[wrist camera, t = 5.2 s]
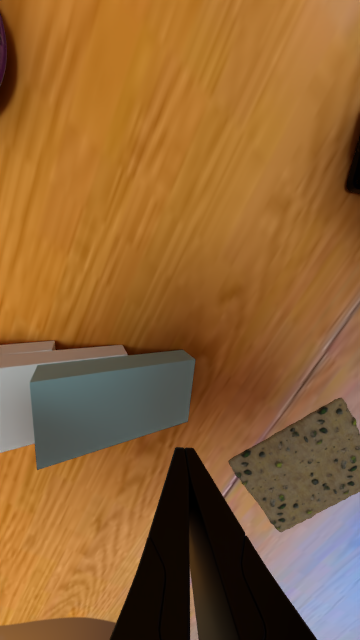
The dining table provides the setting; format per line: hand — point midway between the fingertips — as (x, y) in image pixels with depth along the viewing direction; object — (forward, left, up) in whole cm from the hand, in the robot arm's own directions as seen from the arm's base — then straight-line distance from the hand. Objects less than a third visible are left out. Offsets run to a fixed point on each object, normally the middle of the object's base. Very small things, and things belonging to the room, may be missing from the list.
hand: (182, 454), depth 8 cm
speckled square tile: (-14, +9, -7) cm, 18 cm away
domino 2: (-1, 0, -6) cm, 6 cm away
